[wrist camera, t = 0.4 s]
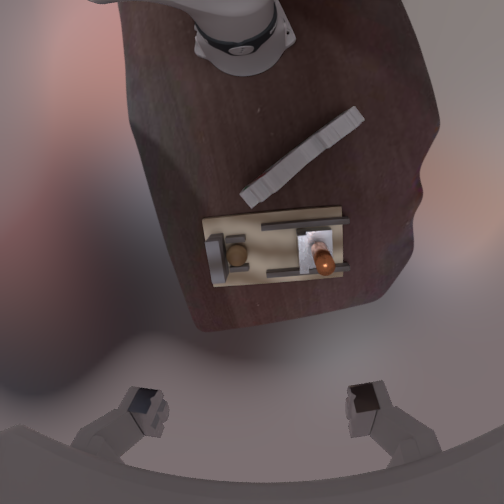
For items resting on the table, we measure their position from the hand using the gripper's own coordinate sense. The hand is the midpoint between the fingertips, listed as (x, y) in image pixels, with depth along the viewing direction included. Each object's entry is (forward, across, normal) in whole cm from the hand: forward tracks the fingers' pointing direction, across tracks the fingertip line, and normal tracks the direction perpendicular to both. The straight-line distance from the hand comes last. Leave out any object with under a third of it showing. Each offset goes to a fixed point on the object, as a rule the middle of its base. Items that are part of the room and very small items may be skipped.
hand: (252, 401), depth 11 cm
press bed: (+44, 0, +8) cm, 45 cm away
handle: (+43, -7, +8) cm, 44 cm away
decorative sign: (+45, -6, -9) cm, 46 cm away
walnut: (+41, +7, +8) cm, 43 cm away
